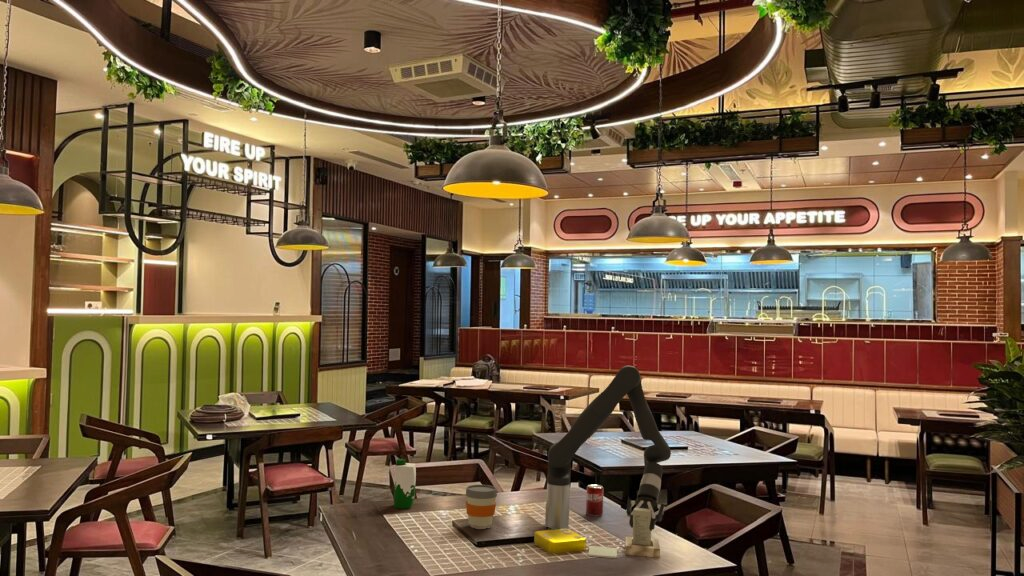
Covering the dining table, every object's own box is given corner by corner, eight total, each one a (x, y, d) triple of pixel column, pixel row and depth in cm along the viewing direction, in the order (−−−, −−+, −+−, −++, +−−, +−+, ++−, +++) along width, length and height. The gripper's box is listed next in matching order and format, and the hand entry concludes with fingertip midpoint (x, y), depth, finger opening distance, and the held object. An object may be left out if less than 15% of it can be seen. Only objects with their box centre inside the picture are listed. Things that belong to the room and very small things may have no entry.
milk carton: (395, 503, 314) (397, 457, 315) (415, 504, 314) (417, 458, 315) (391, 508, 305) (393, 461, 306) (412, 509, 305) (414, 462, 306)
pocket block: (625, 554, 253) (625, 546, 253) (625, 544, 265) (625, 536, 265) (659, 557, 251) (660, 549, 252) (658, 547, 263) (658, 539, 263)
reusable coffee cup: (458, 528, 279) (460, 489, 280) (472, 520, 291) (473, 483, 292) (488, 532, 275) (489, 493, 275) (500, 524, 286) (502, 486, 287)
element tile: (532, 543, 265) (532, 529, 265) (567, 539, 271) (567, 526, 271) (551, 555, 251) (551, 541, 251) (587, 551, 257) (588, 537, 258)
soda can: (602, 517, 303) (603, 488, 304) (585, 515, 305) (586, 487, 305) (603, 513, 310) (604, 485, 311) (586, 511, 312) (587, 483, 312)
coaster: (588, 556, 250) (588, 554, 250) (589, 547, 260) (589, 545, 260) (616, 558, 249) (616, 556, 249) (617, 549, 259) (617, 548, 259)
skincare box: (651, 542, 260) (652, 509, 260) (649, 546, 256) (650, 511, 256) (633, 540, 262) (634, 506, 262) (631, 543, 258) (633, 509, 258)
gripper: (629, 480, 269) (620, 519, 258) (667, 485, 264) (659, 525, 252) (632, 491, 274) (623, 530, 263) (669, 497, 268) (662, 536, 257)
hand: (641, 527), depth 257 cm, fingers closed on skincare box, 6 cm apart
